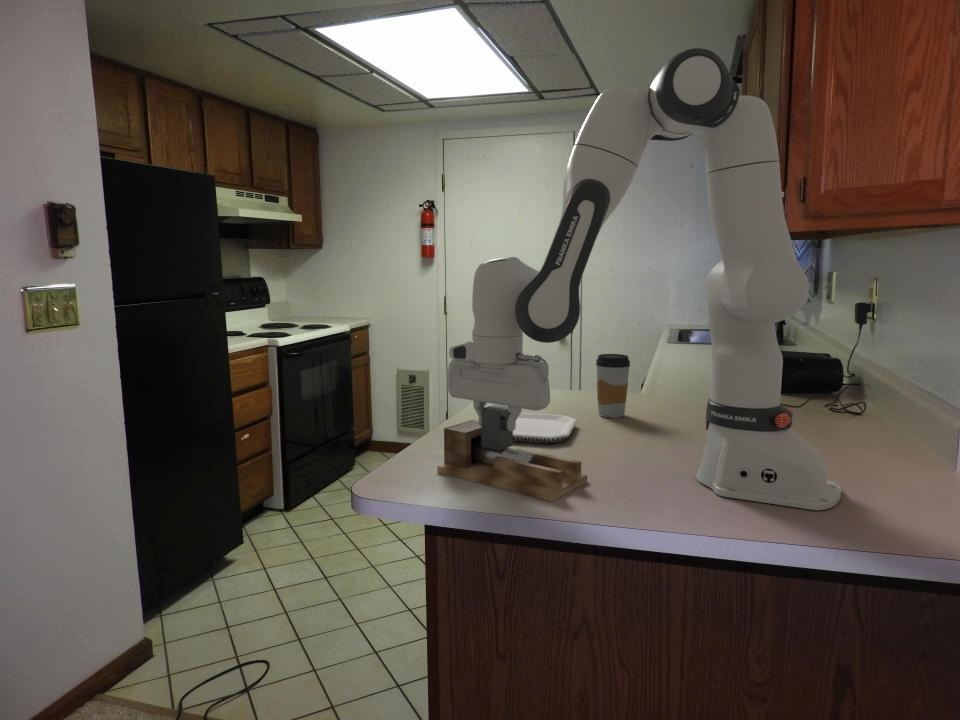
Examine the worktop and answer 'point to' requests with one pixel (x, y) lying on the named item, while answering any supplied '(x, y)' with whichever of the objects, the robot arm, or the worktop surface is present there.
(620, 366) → the coffee cup
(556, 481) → the cradle
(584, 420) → the worktop surface
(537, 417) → the plate
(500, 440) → the grey mallet
